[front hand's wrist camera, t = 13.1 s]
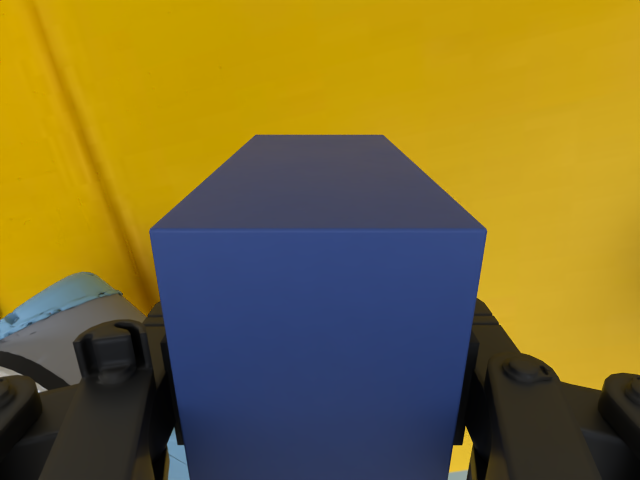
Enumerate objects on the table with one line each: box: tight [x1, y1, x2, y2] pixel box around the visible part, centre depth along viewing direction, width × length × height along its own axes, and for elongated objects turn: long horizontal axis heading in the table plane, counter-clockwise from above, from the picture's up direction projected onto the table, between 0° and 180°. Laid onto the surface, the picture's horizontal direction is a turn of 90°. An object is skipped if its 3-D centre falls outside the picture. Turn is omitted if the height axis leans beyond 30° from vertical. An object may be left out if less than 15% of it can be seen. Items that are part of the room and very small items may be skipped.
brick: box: [149, 135, 487, 480], centre depth 12 cm, size 5×8×10 cm, turn 0°
